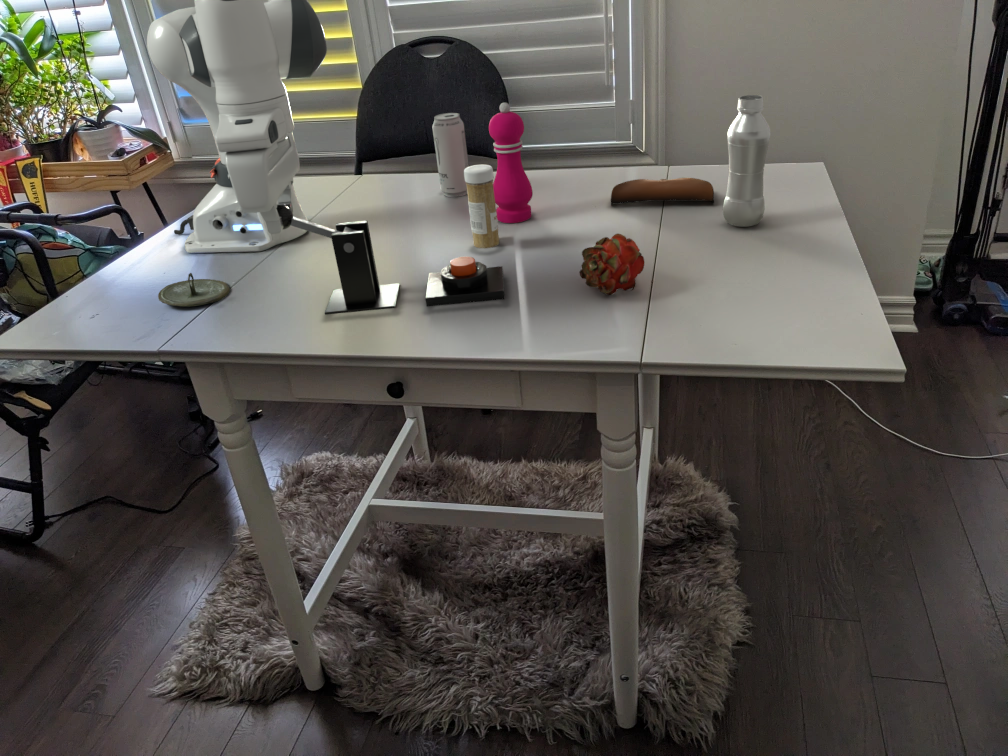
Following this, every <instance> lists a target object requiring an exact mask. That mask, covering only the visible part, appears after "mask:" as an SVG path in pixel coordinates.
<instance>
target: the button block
mask: <svg viewBox="0 0 1008 756" xmlns="http://www.w3.org/2000/svg"><path fill="white" fill-rule="evenodd" d="M475 263H476V272H475V273H473V274H470V275H466V276H455V275H452V274H451V267H450V264H447V265H446V266H444V267H443V268H442V269H441V270H440V271H437V272H429V273H428V276H427V277H428V278H427V284H426V292H425V299H424V300H425V305H426V307H427V308H429V307H438V306H448V305H459V304H460V305H461V304H470V303H478V302H479V303H480V302H490V301H501V300H505V281H504V269H503V268H504V267H503V266H489V267H487V265H486V264H484V263H483V262H480V261H475Z"/></svg>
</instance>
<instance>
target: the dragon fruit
mask: <svg viewBox="0 0 1008 756" xmlns="http://www.w3.org/2000/svg"><path fill="white" fill-rule="evenodd" d="M581 256H582V258H583V262H582V264H581V266H580V267H581V269H580V270H579V272H578V273H579V276H580V278H581V280H585V284H586V286H587V287H589V288H596V289H597V288H598V289H597V290H599V292H600V293H602V294H605V295H607V296H612V295H614V294H616V293H617V291H618V290H622V291H624V292H625V291H629V290H630V292H632V291H633V290H635V288H636V286H637V283H636V279H637V277H638V275H640V274H641V273H642V272H643V271H644V268H645V258H644V255H642V253H641V252H640V248H639V246H638V244H637V243H636V242H635V241H634V239H632V238H630V237H629V238H627V237H626V235H624V234H621V233H615V234H613V236H611V238H610V237H607V236H605V237H602V238H601V239H599V240H597V241H596V242H595V245H594V246H590V247H585V248H583V249H582V251H581Z"/></svg>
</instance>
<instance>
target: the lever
mask: <svg viewBox="0 0 1008 756" xmlns="http://www.w3.org/2000/svg"><path fill="white" fill-rule="evenodd" d="M276 209H277V212H278V214H279V217H281V218H282V224H283V229H282V230H284V229H287V228H289V227H290V226H294V227H297V228H300V229H304V230H307V232H310V233H312V234H315V235H320V236H323V237H325V238H328V239H332V238H331V235H332V233H341V232H340V231H337V230H336V229H334V228H331V227H328V226H326V225H325V226H324V225H321V224H319V223H316V222H313V221H309V220H308V221H306V220H303V219H300V218H297V217H294V216H293V213H292V211H291V210H290V208H288V207H287V206H285V205H277V208H276ZM351 231H357V230H354V229H351V228H348V227H345V229H344V231H343V232H351ZM364 234H365V233H364Z"/></svg>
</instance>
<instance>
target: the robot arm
mask: <svg viewBox="0 0 1008 756" xmlns="http://www.w3.org/2000/svg"><path fill="white" fill-rule="evenodd" d="M193 2H194V6H191V7H185V8H179V9H176V10H174V11H171V12H169V13H167V14H165V15H164V14H163V15H162V16H161V17H158V18H156V19H155V20H153V21H152V22H151V23H150V25H149V27H148V31H147V35H146V46H147V52H148V55H149V58H150V60H151V62H152V64H153V66H154V68H156V70H157V71H158V72H159V74H161V75H162V76H163V77H164V78H165V79H166V80H168V81H169V82H172V83H174V84H176V85H177V86H179V87H181V88H182V89H183V90H184V91H186V92H187V94H189V95H190V96H191V97H192V98H193V99H194V101H195V102H196V103H197V104H198V106H199V108H200V109H201V110H202V112H203V114H204V115H205V117H206V120H207V122H208V124H209V127H210V130H211V133H212V136H213V141H214V143H215V146H216V151H217V153H218V159H216V160H215V162H214V165H213V166H212V167H211V170H210V171H209V174H210V178H211V179H214V181H215V184H214V186H213V187H211V189H210V190H209V191H208V192H207V193H206V195H205V196H204V197H203V199H201V200H200V201H199V203H198V204H197V206H195V209H194V210H193V214H192V215H190V216H189V217H187V218H186V219H184V220H182V222H181V223H180V224H179V229H174V231H173V234H174V235H177V236H180V235H183V234H184V233H185V230H186V229H185V228H186V226H187V225H189V227H190V228H189V229H190V231H192V232H191V233H190V234H189V235H188V236H187V238H186V239H185V241H184V249H185V251H186V253H189V254H197V253H201V254H202V253H205V254H206V253H240V252H242V253H244V252H245V253H247V252H262V251H265V250H268V249H270V248H272V247H274V246H276V245H280V244H283V243H285V242H290V241H291V240H295V239H297V238H299V237H301V236H303V235H305V234H306V233H307V232H308V231H307V230H304V229H300V228H297V227H294V226H290V227H289V228H287V229H284V230H282V229H283V224H282V218H281V217H279V214H278V212H277V209H276V208H277V205H285V206H287V207H288V208H290V210H291V211H292V213H293V216H294V217H297V218H300V219H303V220H306V221H309V220H308V218H307V216H306V214H305V212H304V210H303V208H302V205H301V202H300V201H299V198H298V195H297V191H296V189H295V186H294V177H295V176H296V175H297V173H298V172H299V171H300V168H301V164H300V156H299V153H298V149H297V145H296V141H295V137H294V134H293V131H294V130H295V124H294V119H293V115H292V109H291V106H290V100H289V95H288V92H287V87H286V86H285V84H284V82H283V79H286V80H295V79H308V78H311V77H312V76H313V75H314V74H315V73H316V72H317V71H318V69H319V68H320V67H321V65H322V63H323V62H324V60H325V58H326V56H327V51H328V48H327V40H326V35H325V31H324V28H323V26H322V23H321V21H320V19H319V17H318V15H317V12H316V11H315V9H314V7H313V6H312V5H311V3H310V2H309V0H193Z"/></svg>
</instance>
